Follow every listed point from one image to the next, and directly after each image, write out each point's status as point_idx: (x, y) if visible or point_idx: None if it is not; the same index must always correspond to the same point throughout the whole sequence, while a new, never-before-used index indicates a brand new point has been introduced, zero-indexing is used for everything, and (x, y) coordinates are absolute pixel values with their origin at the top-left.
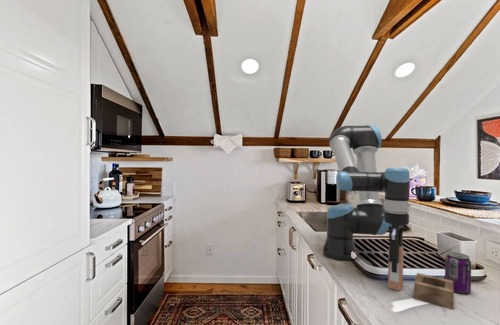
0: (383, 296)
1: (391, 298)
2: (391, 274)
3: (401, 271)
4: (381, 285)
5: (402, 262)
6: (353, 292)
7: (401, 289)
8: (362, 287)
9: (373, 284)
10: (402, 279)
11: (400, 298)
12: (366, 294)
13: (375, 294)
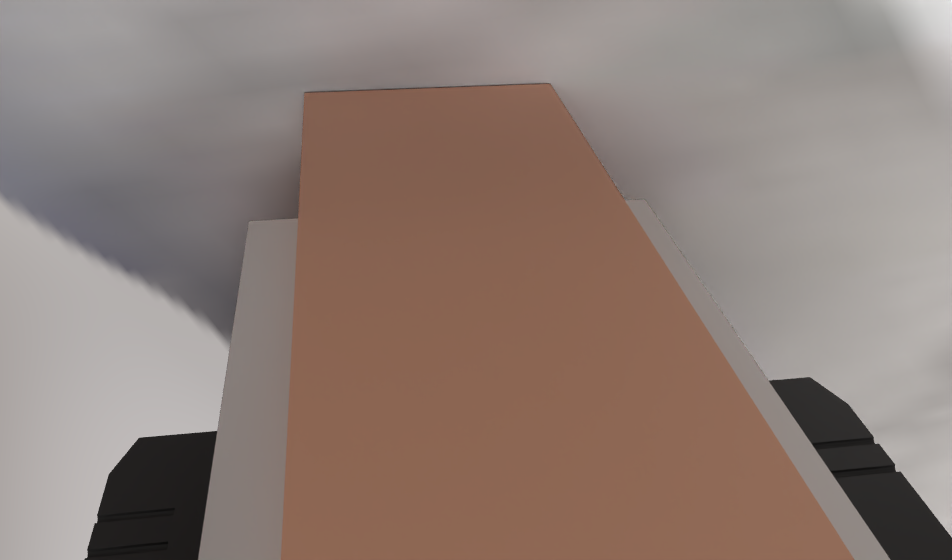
0: (905, 265)
1: (929, 161)
2: None
3: (676, 308)
4: None
5: (496, 506)
6: None
7: (506, 91)
8: None
9: None
10: (374, 166)
11: (871, 42)
12: (931, 431)
13: (884, 357)
